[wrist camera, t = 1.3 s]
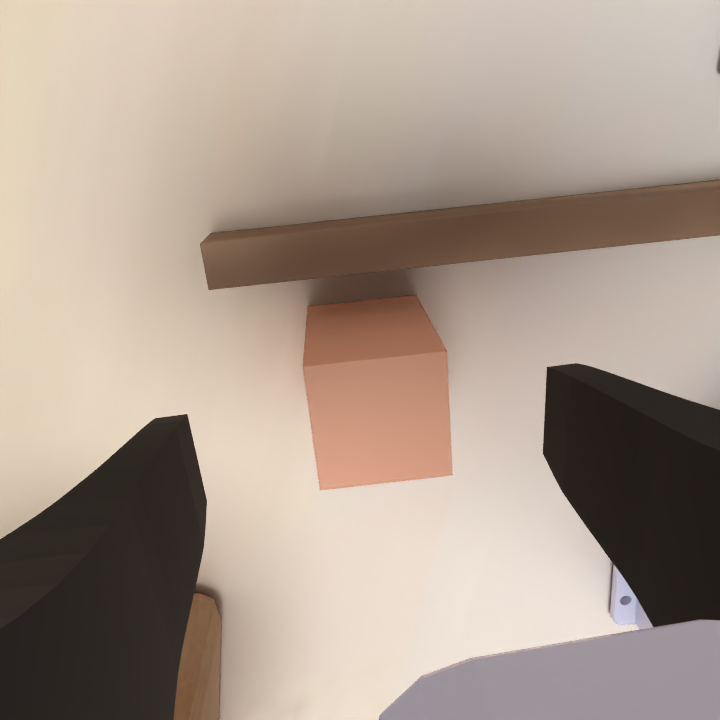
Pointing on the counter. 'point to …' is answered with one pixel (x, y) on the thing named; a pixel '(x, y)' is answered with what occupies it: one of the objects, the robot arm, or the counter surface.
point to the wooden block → (200, 663)
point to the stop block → (376, 393)
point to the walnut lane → (461, 234)
